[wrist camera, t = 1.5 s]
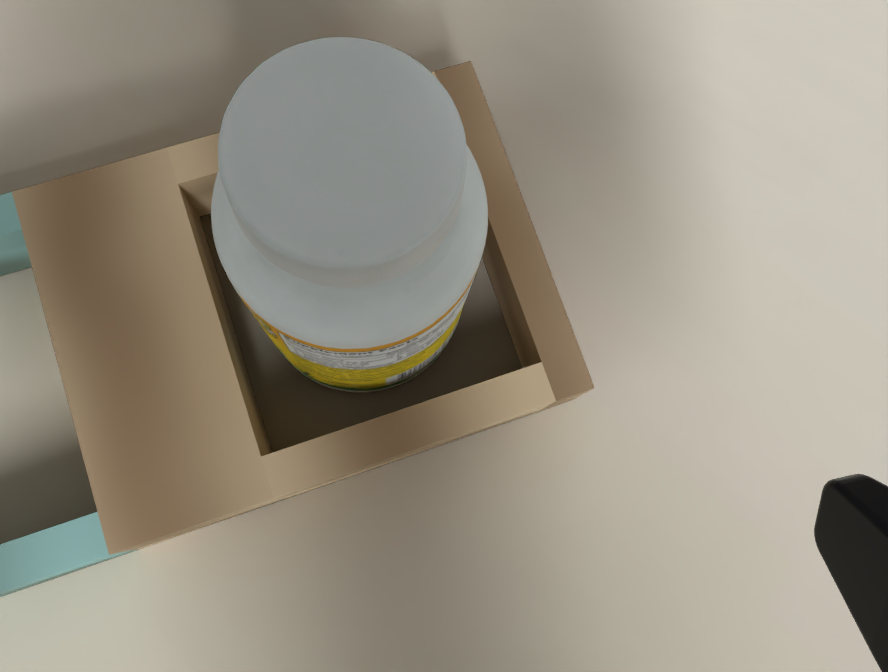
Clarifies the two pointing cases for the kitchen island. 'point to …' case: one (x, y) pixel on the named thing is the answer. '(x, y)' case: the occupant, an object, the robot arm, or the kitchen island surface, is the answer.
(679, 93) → the kitchen island surface
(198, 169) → the rail
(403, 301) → the supplement bottle
